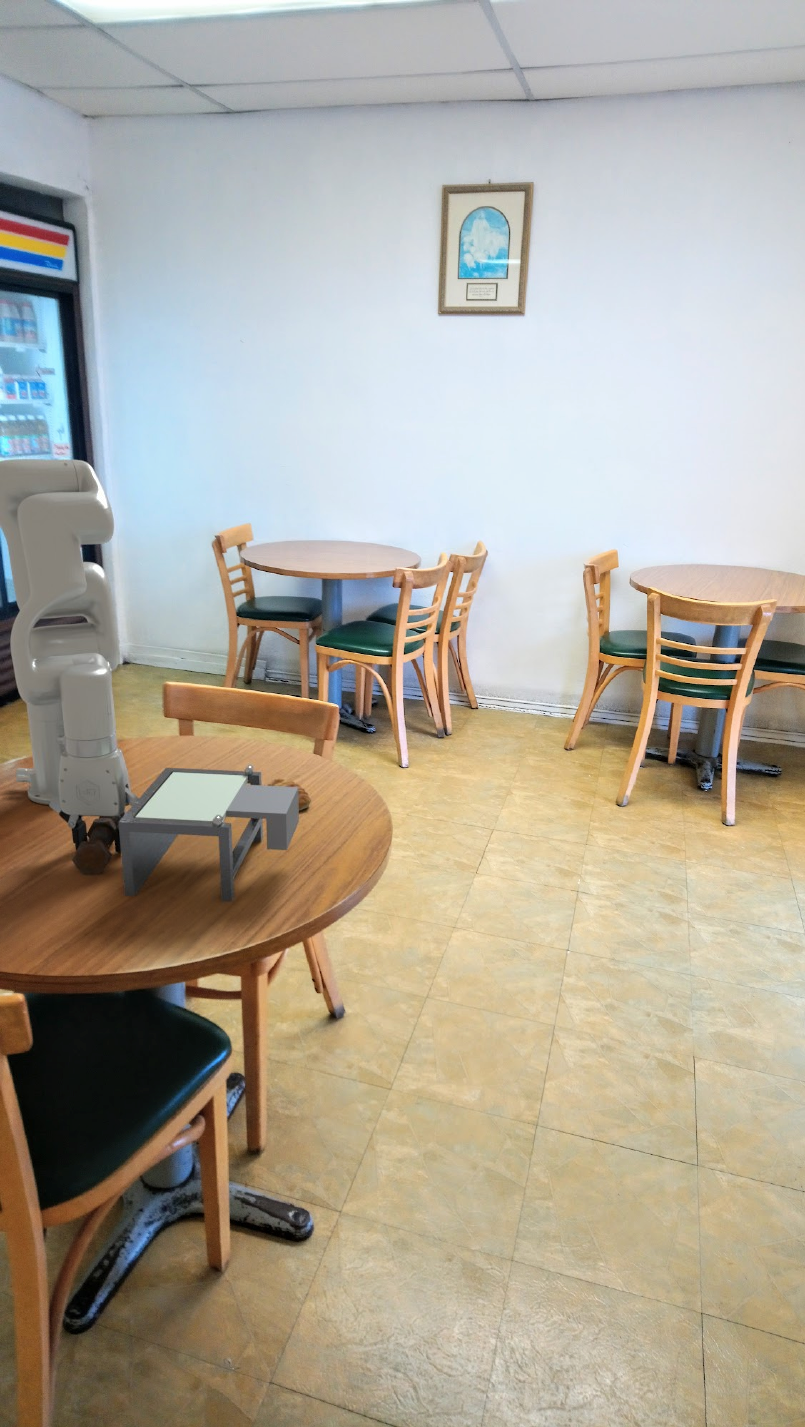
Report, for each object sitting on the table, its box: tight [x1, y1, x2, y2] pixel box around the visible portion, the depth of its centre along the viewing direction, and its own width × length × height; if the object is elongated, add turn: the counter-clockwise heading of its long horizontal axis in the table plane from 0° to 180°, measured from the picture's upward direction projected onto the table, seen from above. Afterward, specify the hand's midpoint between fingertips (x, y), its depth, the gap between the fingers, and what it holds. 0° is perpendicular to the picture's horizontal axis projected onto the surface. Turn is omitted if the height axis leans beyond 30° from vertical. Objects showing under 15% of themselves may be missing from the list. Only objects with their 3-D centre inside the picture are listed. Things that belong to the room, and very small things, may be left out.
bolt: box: [71, 816, 116, 876], centre depth 140 cm, size 6×5×15 cm
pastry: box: [266, 777, 312, 811], centre depth 160 cm, size 9×7×4 cm
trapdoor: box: [135, 772, 300, 851], centre depth 134 cm, size 21×17×6 cm
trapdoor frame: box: [119, 764, 264, 903], centre depth 135 cm, size 16×21×13 cm
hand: (101, 847), depth 141 cm, fingers closed on bolt, 5 cm apart
